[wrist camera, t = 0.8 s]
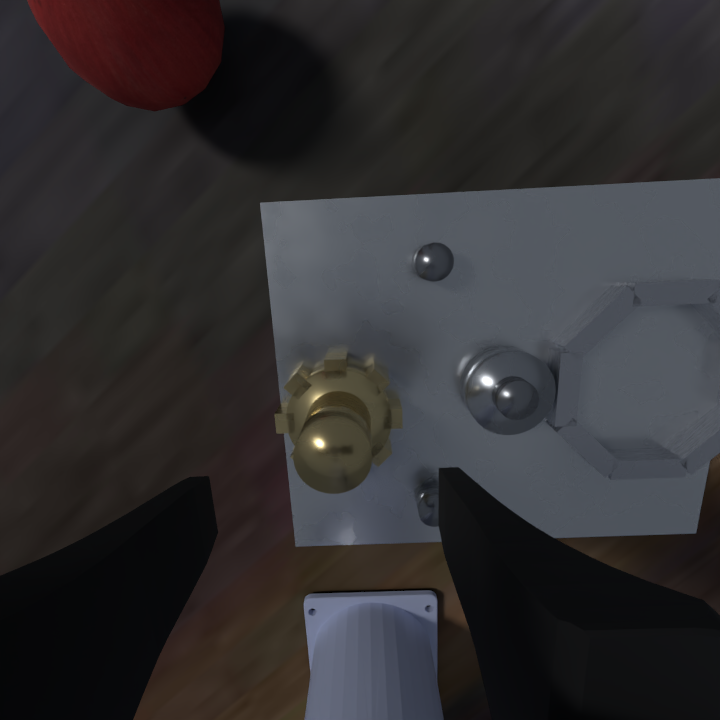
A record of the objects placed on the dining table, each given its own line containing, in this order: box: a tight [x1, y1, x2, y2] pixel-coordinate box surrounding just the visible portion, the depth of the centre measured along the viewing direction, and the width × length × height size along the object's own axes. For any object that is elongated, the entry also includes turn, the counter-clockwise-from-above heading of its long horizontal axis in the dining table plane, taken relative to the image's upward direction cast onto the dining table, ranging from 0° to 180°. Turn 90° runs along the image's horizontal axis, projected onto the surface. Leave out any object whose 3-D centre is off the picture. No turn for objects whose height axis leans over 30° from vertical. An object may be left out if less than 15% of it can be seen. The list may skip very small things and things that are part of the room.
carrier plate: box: [260, 178, 720, 546], centre depth 18 cm, size 18×23×3 cm
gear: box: [275, 352, 403, 494], centre depth 17 cm, size 6×6×5 cm
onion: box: [28, 0, 225, 111], centre depth 13 cm, size 6×6×8 cm
